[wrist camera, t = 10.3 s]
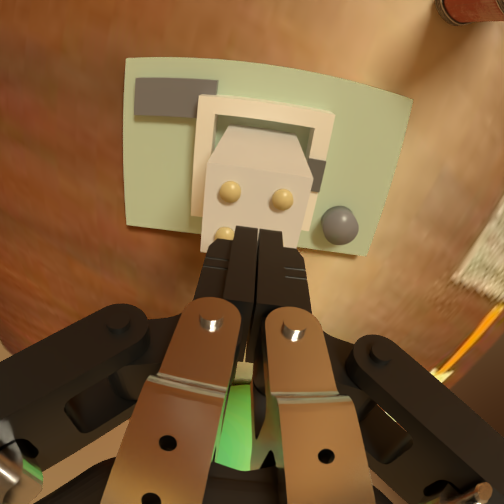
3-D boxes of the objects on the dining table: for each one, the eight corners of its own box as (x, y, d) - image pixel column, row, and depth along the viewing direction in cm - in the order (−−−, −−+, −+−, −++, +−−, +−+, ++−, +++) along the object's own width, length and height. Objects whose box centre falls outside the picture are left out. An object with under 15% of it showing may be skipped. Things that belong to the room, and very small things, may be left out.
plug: (222, 183, 20) (199, 255, 13) (230, 123, 18) (205, 164, 11) (284, 192, 20) (293, 268, 14) (296, 133, 18) (315, 181, 11)
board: (131, 218, 23) (118, 236, 21) (132, 58, 16) (114, 58, 14) (363, 249, 24) (371, 269, 22) (407, 97, 17) (424, 103, 15)
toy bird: (356, 374, 33) (375, 493, 21) (296, 432, 42) (297, 520, 30) (199, 341, 31) (173, 481, 18) (177, 410, 40) (159, 505, 27)
